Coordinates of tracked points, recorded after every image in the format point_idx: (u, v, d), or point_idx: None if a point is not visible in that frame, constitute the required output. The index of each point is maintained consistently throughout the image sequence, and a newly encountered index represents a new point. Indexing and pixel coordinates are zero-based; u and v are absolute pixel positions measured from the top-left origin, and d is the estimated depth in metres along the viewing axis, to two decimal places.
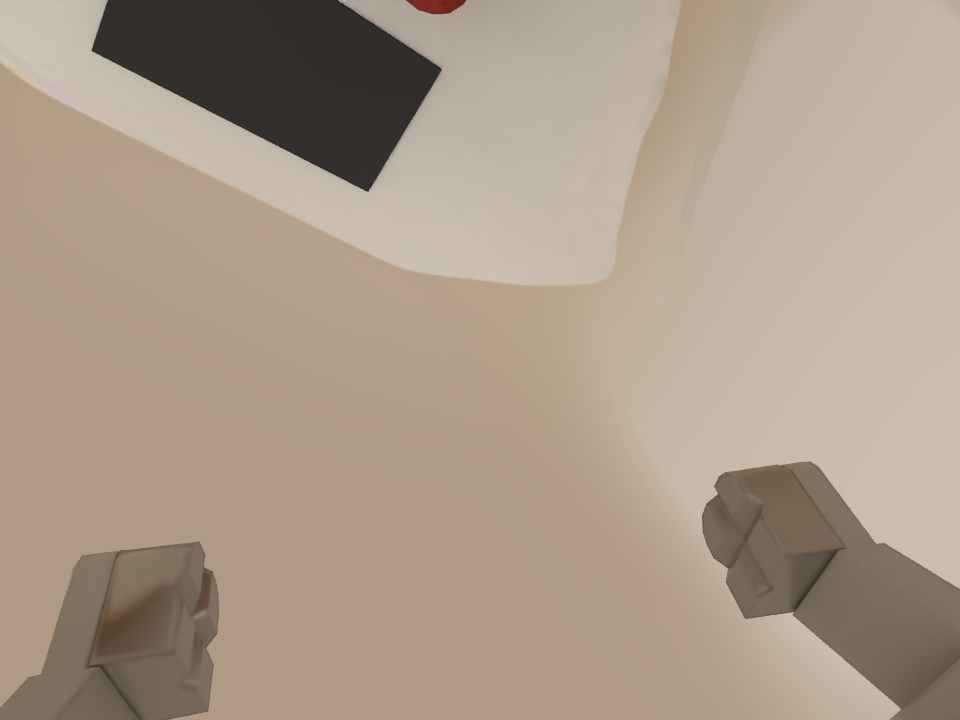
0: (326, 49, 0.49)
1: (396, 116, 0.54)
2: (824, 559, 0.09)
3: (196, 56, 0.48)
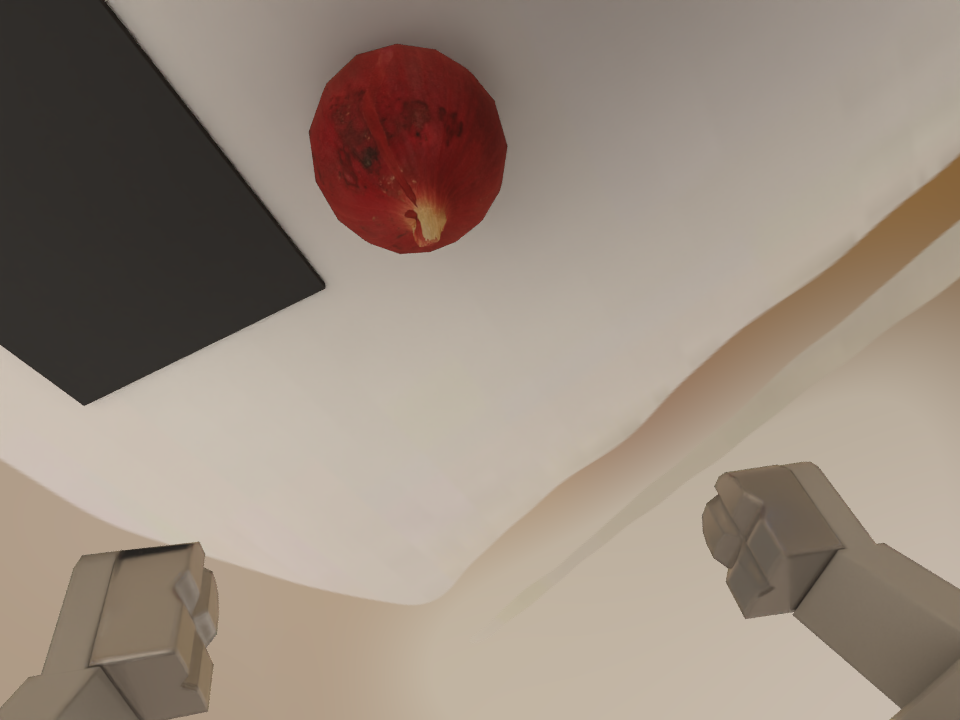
0: (99, 156, 0.22)
1: (201, 320, 0.27)
2: (824, 559, 0.09)
3: None
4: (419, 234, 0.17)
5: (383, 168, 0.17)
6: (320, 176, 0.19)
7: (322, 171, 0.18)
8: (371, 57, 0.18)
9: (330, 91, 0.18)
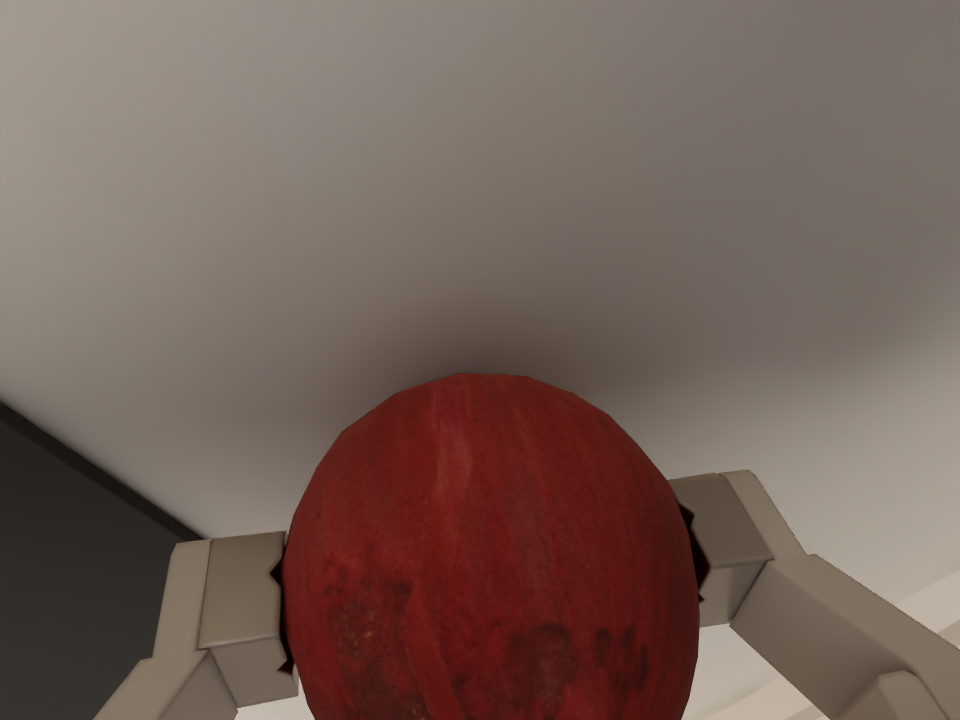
0: None
1: (115, 684, 0.16)
2: (754, 570, 0.09)
3: None
4: None
5: None
6: (304, 690, 0.08)
7: (308, 695, 0.08)
8: (420, 458, 0.08)
9: (325, 531, 0.08)
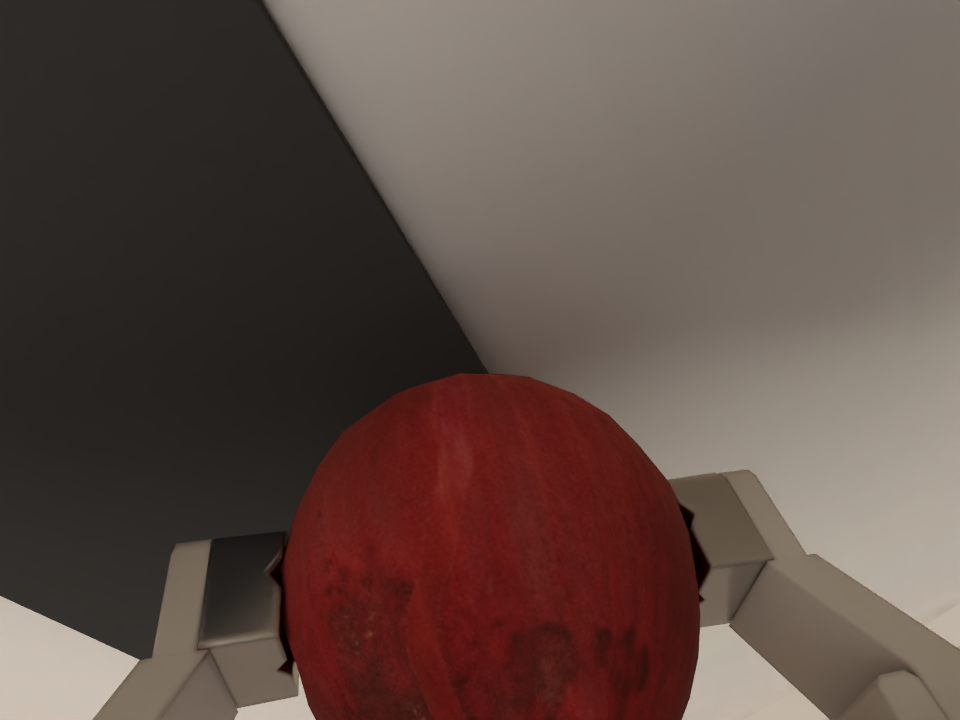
0: (332, 434, 0.13)
1: None
2: (754, 570, 0.09)
3: None
4: None
5: None
6: (304, 690, 0.08)
7: (309, 695, 0.08)
8: (421, 458, 0.08)
9: (326, 531, 0.08)
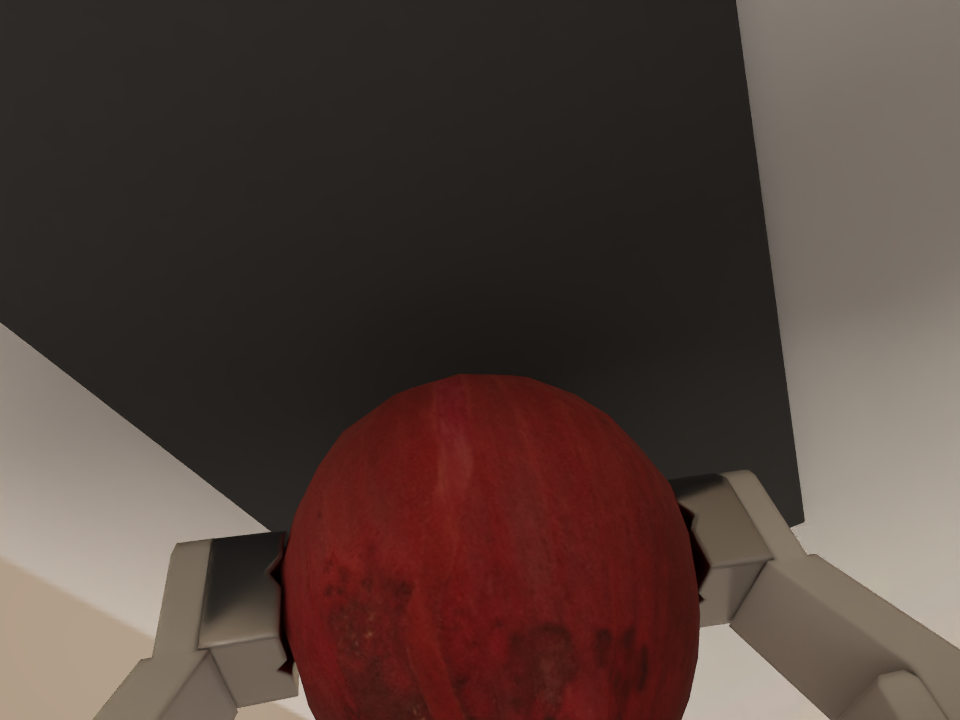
0: (635, 402, 0.14)
1: None
2: (754, 570, 0.09)
3: (193, 241, 0.10)
4: None
5: None
6: None
7: (308, 694, 0.08)
8: (420, 458, 0.08)
9: (326, 531, 0.08)
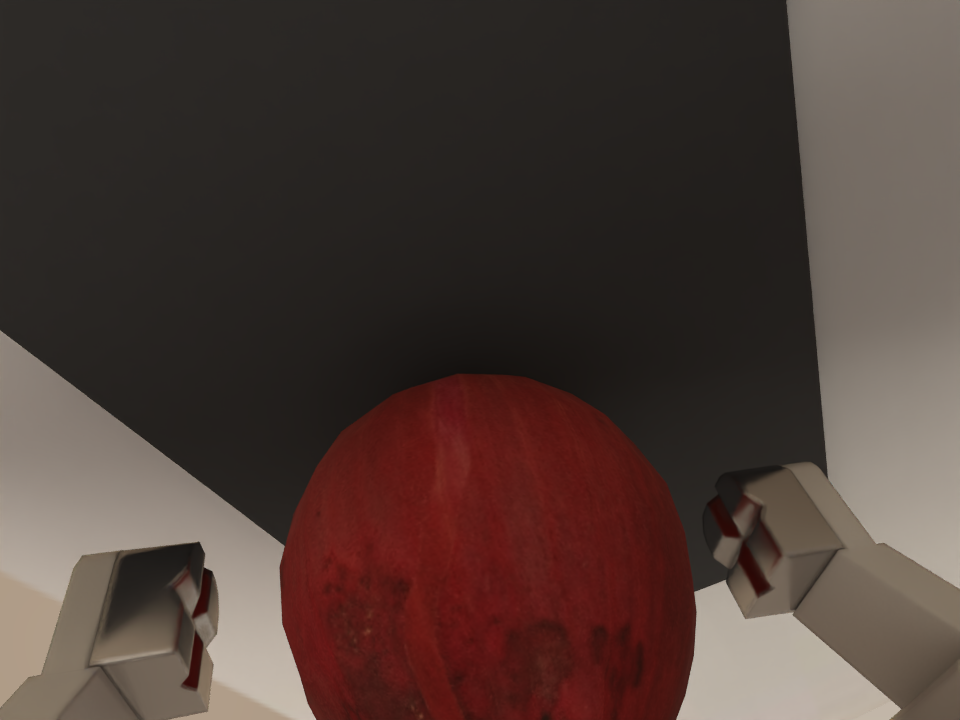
0: (668, 423, 0.14)
1: None
2: (824, 559, 0.09)
3: (227, 269, 0.10)
4: None
5: None
6: None
7: (307, 692, 0.08)
8: (418, 457, 0.08)
9: (325, 530, 0.08)
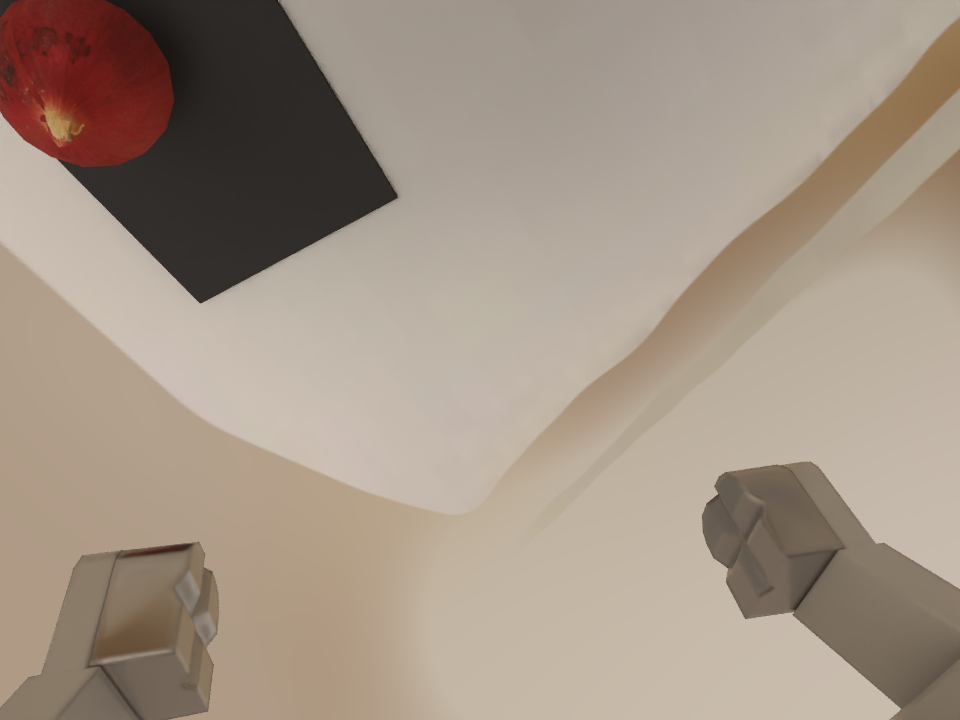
0: (237, 82, 0.28)
1: (299, 225, 0.33)
2: (824, 559, 0.09)
3: None
4: (50, 134, 0.21)
5: (19, 81, 0.21)
6: None
7: None
8: None
9: None
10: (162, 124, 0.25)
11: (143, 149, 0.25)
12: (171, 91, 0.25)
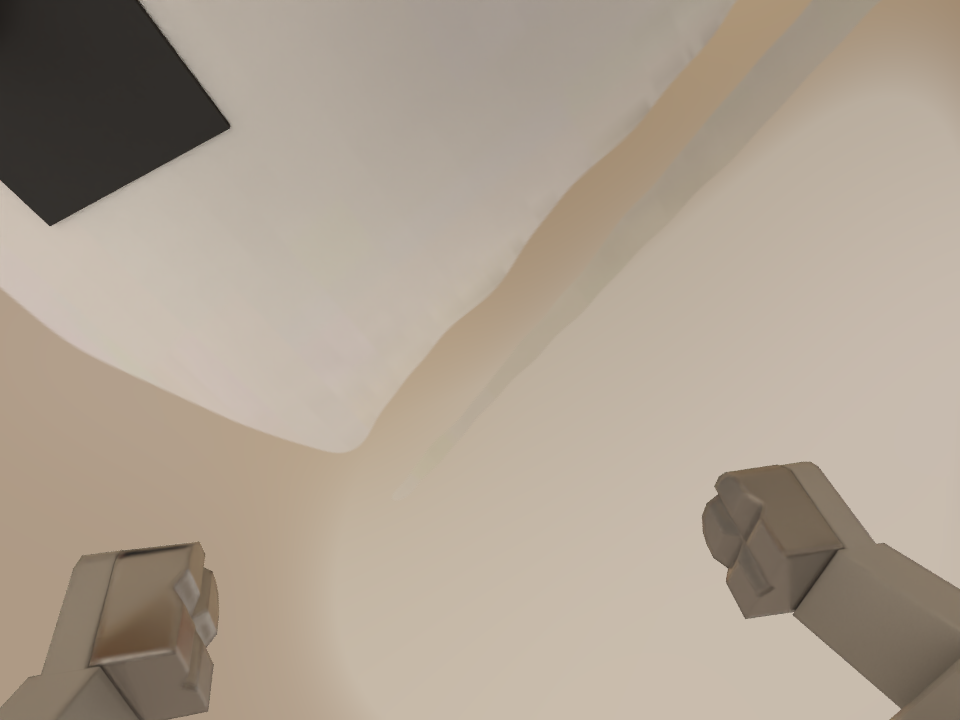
0: (55, 7, 0.30)
1: (136, 151, 0.35)
2: (824, 559, 0.09)
3: None
4: None
5: None
6: None
7: None
8: None
9: None
10: None
11: None
12: None
